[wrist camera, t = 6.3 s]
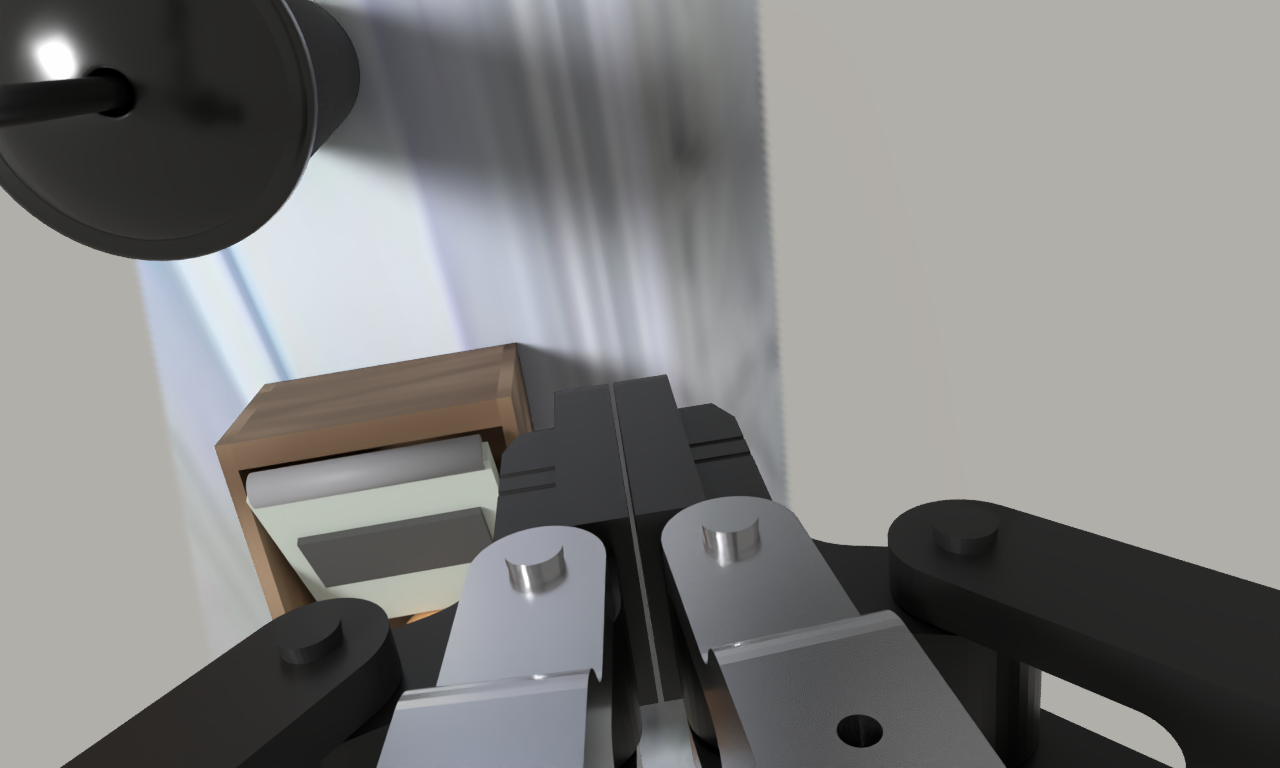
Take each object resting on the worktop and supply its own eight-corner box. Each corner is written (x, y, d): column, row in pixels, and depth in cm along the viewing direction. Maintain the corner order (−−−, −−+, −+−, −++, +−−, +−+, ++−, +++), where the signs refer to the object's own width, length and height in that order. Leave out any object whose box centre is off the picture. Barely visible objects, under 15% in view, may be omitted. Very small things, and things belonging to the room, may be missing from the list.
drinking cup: (446, 86, 34) (323, 148, 15) (292, 221, 35) (3, 431, 16) (289, -101, 32) (-87, -300, 13) (129, 50, 33) (-432, 70, 14)
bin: (264, 384, 37) (214, 446, 32) (516, 342, 38) (510, 396, 32) (375, 745, 44) (350, 850, 38) (589, 706, 44) (596, 804, 38)
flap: (242, 466, 31) (237, 499, 30) (483, 425, 31) (485, 456, 31) (337, 605, 38) (335, 634, 37) (532, 571, 39) (534, 599, 38)
